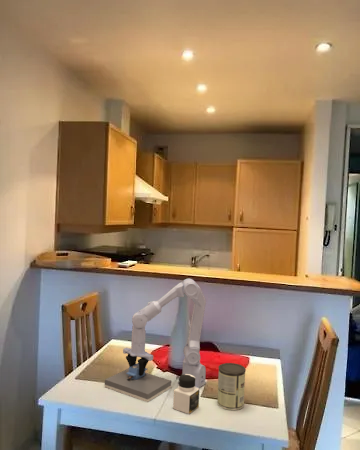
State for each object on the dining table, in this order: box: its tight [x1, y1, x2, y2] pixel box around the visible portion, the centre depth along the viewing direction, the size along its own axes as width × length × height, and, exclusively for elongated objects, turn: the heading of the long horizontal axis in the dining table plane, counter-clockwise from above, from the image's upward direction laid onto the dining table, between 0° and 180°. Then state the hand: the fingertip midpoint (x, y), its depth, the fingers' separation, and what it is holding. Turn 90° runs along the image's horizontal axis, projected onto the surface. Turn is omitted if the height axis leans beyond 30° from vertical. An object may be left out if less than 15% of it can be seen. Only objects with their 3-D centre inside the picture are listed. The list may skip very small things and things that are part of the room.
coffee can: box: [217, 362, 247, 411], centre depth 157 cm, size 10×10×14 cm
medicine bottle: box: [172, 374, 200, 415], centre depth 153 cm, size 7×7×12 cm
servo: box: [126, 362, 148, 380], centre depth 172 cm, size 4×10×5 cm, turn 148°
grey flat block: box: [104, 367, 172, 403], centre depth 169 cm, size 22×16×3 cm
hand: (137, 373), depth 173 cm, fingers closed on servo, 4 cm apart
